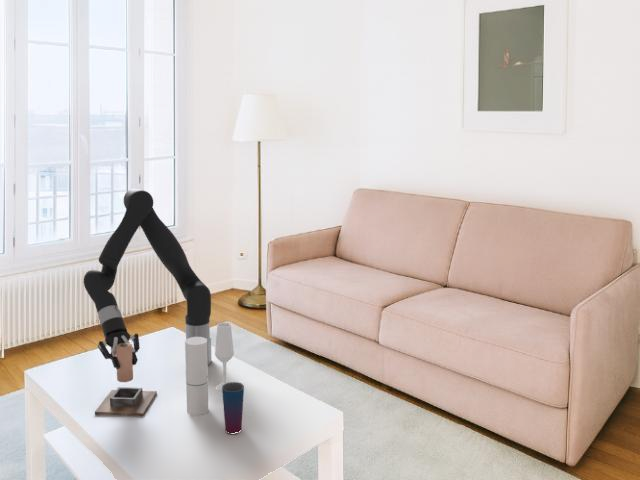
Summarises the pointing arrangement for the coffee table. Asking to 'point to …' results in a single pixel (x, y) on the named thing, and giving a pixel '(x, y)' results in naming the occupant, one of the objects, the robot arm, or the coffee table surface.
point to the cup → (233, 406)
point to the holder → (126, 402)
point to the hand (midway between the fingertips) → (126, 365)
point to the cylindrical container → (196, 375)
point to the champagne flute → (224, 347)
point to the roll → (124, 362)
